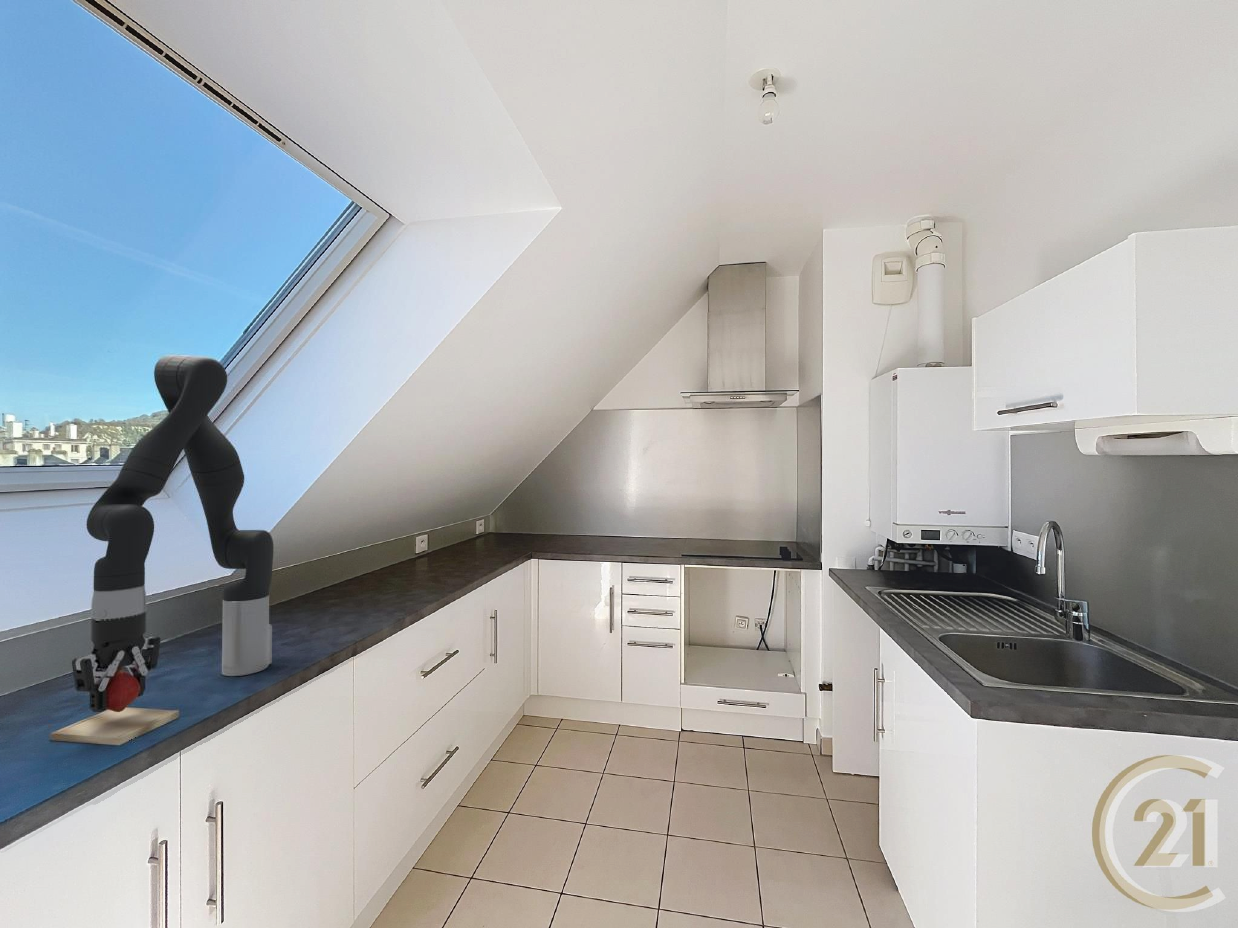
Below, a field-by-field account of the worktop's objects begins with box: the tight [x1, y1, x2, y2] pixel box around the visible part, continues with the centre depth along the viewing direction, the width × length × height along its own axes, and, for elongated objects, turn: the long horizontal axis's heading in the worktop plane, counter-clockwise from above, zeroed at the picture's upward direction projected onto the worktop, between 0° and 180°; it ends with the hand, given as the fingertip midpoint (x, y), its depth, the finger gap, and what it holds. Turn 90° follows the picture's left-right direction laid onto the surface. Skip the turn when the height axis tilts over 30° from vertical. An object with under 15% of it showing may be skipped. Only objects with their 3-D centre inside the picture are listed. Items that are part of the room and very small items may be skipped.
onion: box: [105, 667, 140, 712], centre depth 101 cm, size 6×6×8 cm
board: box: [50, 706, 180, 746], centre depth 100 cm, size 11×14×1 cm
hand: (118, 703), depth 101 cm, fingers open, 6 cm apart
